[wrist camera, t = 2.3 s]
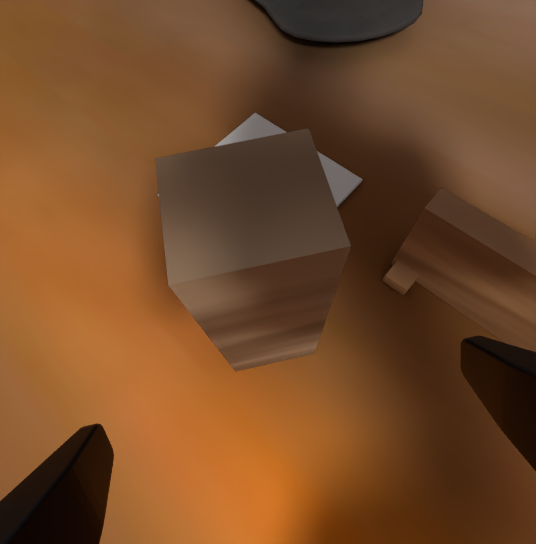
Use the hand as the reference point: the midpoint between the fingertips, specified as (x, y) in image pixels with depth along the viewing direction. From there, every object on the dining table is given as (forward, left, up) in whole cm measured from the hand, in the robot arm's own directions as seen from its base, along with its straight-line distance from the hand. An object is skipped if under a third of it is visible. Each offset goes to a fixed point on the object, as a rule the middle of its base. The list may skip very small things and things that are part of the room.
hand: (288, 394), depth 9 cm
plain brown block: (+3, +4, -11) cm, 12 cm away
